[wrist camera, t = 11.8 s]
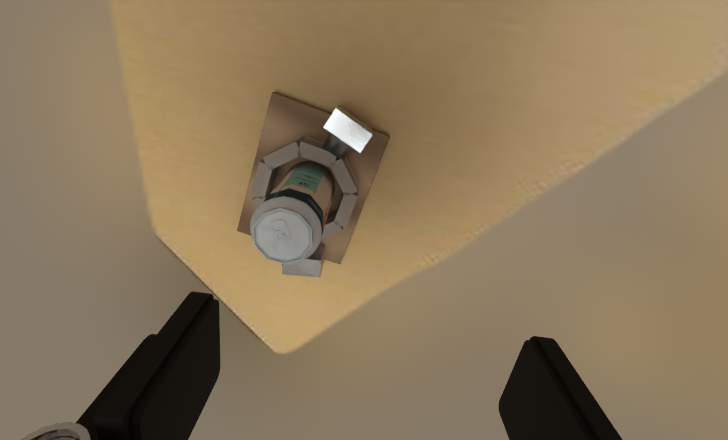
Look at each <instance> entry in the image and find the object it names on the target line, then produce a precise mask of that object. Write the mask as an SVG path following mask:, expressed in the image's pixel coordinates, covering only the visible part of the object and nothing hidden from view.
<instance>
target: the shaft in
mask: <svg viewBox="0 0 728 440" xmlns="http://www.w3.org/2000/svg"><path fill="white" fill-rule="evenodd" d="M324 128H325V129H327V130H328V131H329V132H331V133H330V134H329V136H328V137H327V139H326V140H325V142H324V143H323V146H324V148H325V149H326V150H328V151H329V152H330V153H331V154H333V155H334V156H336V157H338V158H340V159H342V160H344V159H345V158H346V156H347V155H348V153H349V152H350V150H351V149H352V148H354V149H355V150H356V151H358V152H359V153H361V151H362V150H363V148H364V147H365V145H366V144H367V143H368V141H369V140H370V138H371V137H372V135H373V132H372V129H371V128H370V127H368V126H367V125H366V124H364V123H363V122H362V121H360V120H359V119H357V118H356V117H355V116H353V115H352V114H351V113H349V112H348V111H346V110H345V109H344V108H342V107H341V106H338V107H336V109H335V110H334V112H333V113H332V115H331V116H330V118H329V119H328V121H327V122H326V124H325V126H324Z"/></svg>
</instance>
